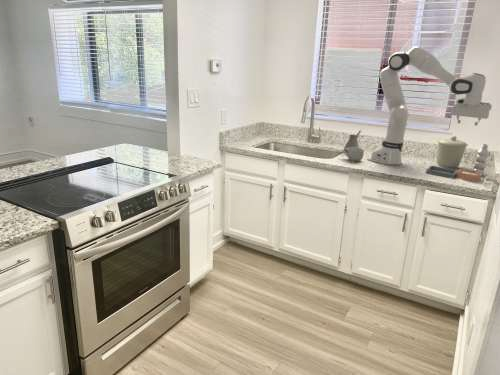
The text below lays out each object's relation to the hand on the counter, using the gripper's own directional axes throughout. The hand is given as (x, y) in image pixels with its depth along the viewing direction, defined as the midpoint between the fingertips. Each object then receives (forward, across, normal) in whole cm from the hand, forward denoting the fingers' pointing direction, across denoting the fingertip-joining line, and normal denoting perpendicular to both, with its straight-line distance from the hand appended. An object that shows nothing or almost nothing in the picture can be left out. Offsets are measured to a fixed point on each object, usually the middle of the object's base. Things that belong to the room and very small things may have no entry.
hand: (467, 124), depth 233 cm
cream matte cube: (+30, -11, +13) cm, 34 cm away
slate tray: (+31, +6, +13) cm, 34 cm away
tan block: (+30, -6, +13) cm, 33 cm away
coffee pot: (+31, +71, -7) cm, 78 cm away
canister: (+31, +7, -12) cm, 34 cm away
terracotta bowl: (+31, -8, +13) cm, 35 cm away
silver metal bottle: (+31, -12, 0) cm, 33 cm away
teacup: (+31, +62, +19) cm, 72 cm away
